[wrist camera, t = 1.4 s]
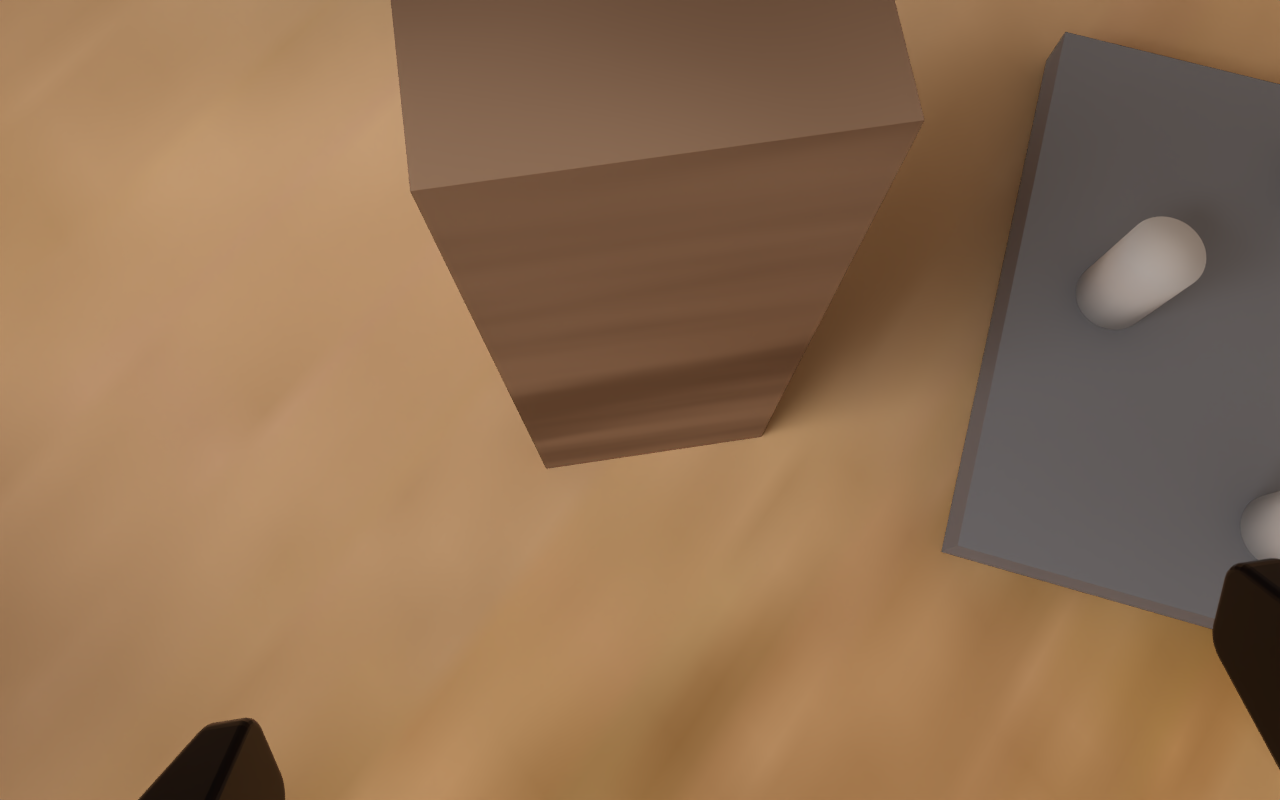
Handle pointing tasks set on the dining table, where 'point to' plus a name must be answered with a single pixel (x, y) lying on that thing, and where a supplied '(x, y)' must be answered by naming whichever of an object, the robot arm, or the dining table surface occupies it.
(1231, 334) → the peg nest
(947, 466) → the dining table surface
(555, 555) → the dining table surface
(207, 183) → the dining table surface
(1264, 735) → the robot arm
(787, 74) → the walnut post
